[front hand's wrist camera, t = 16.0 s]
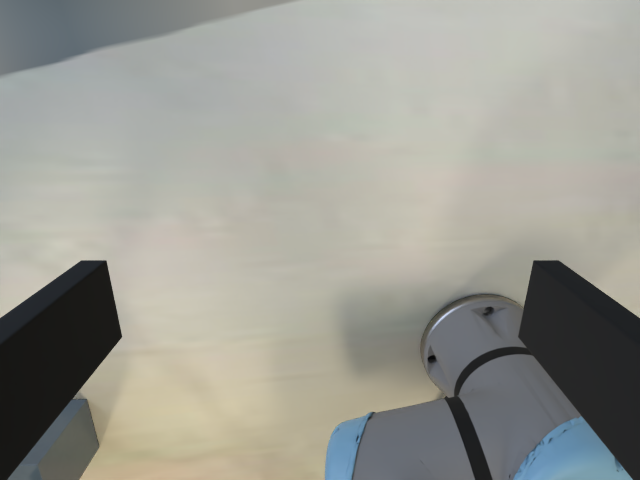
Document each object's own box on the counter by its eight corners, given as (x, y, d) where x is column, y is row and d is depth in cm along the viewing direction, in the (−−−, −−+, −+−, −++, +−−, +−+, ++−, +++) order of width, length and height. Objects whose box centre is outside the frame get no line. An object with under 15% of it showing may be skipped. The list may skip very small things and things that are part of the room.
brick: (87, 399, 57) (37, 465, 47) (99, 447, 60) (55, 518, 50) (48, 399, 57) (-10, 465, 47) (63, 447, 60) (11, 518, 50)
